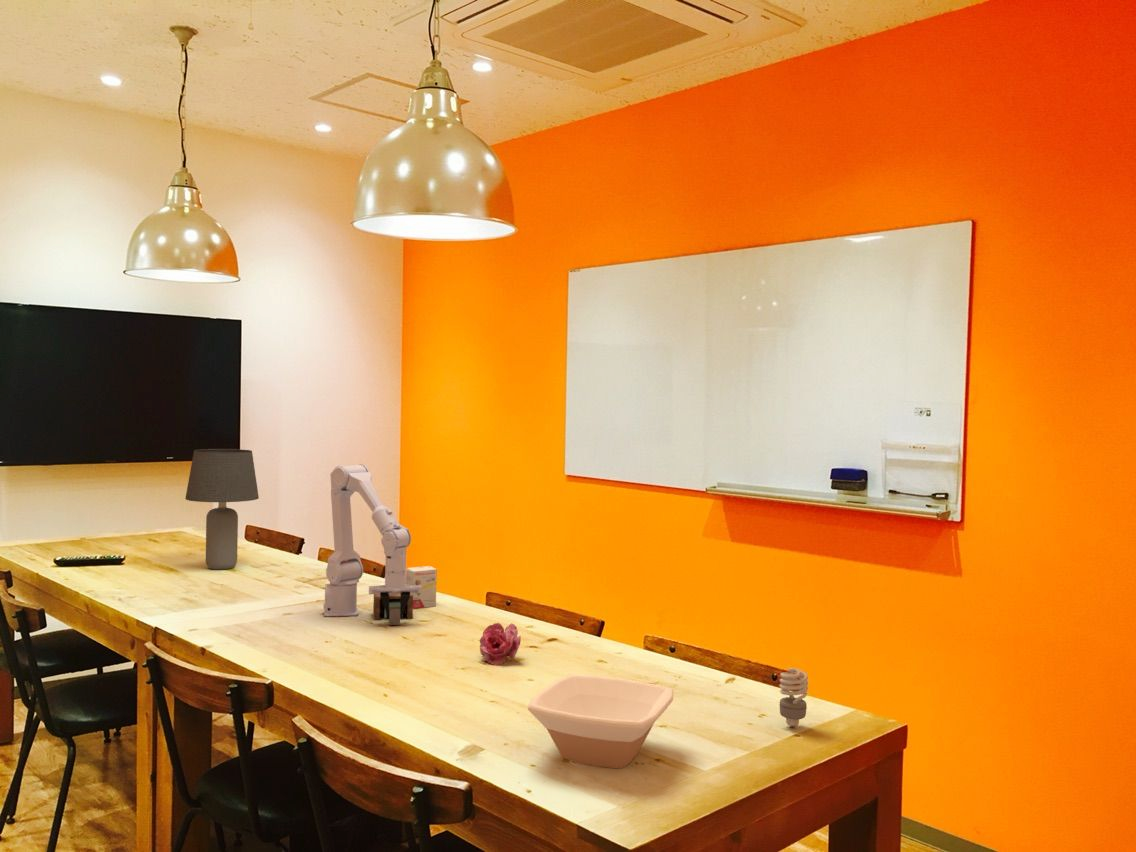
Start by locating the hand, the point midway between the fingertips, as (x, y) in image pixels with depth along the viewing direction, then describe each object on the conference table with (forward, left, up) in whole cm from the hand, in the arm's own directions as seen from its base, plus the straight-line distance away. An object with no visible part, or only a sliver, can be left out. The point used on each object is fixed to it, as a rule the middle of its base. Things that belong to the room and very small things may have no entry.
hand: (394, 618), depth 263 cm
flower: (+24, -39, -2) cm, 46 cm away
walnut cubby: (0, +10, -2) cm, 10 cm away
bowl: (+33, -102, -2) cm, 107 cm away
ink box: (+9, +22, -2) cm, 24 cm away
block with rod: (0, +5, -2) cm, 6 cm away
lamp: (-58, +92, -2) cm, 109 cm away
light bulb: (+75, -95, -2) cm, 121 cm away
